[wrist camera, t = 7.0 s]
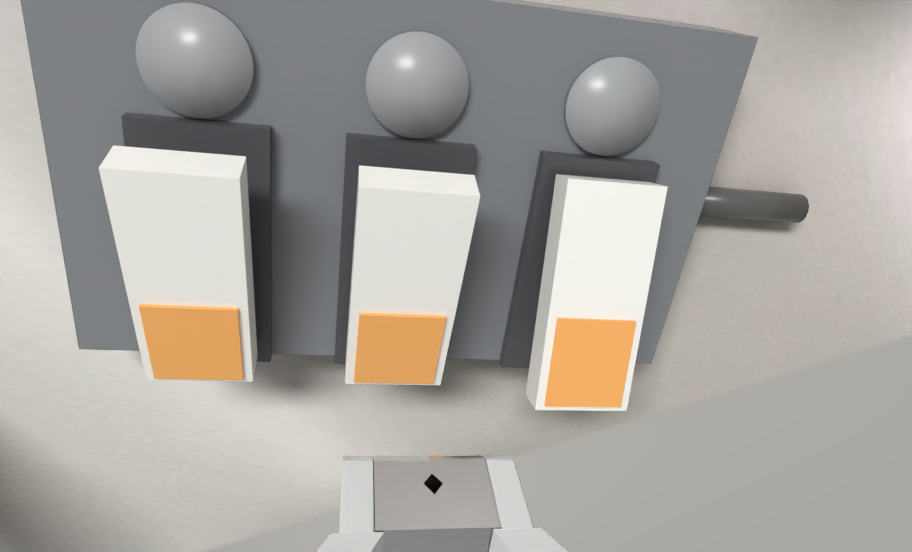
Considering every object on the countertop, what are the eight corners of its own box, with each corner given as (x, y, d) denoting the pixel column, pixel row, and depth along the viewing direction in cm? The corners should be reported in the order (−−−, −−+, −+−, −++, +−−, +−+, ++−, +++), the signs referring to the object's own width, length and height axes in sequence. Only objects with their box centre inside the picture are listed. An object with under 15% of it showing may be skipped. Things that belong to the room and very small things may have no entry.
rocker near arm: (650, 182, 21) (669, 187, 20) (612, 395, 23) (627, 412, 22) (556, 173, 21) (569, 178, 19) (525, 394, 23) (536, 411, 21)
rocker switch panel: (851, 46, 24) (946, 64, 20) (739, 330, 30) (796, 386, 26) (57, -64, 19) (-19, -68, 15) (108, 306, 25) (62, 372, 21)
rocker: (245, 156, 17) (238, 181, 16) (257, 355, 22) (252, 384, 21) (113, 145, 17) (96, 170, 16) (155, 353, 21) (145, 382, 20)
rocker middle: (474, 175, 18) (480, 198, 17) (437, 360, 23) (440, 387, 22) (359, 165, 18) (358, 189, 17) (345, 358, 23) (344, 386, 22)
